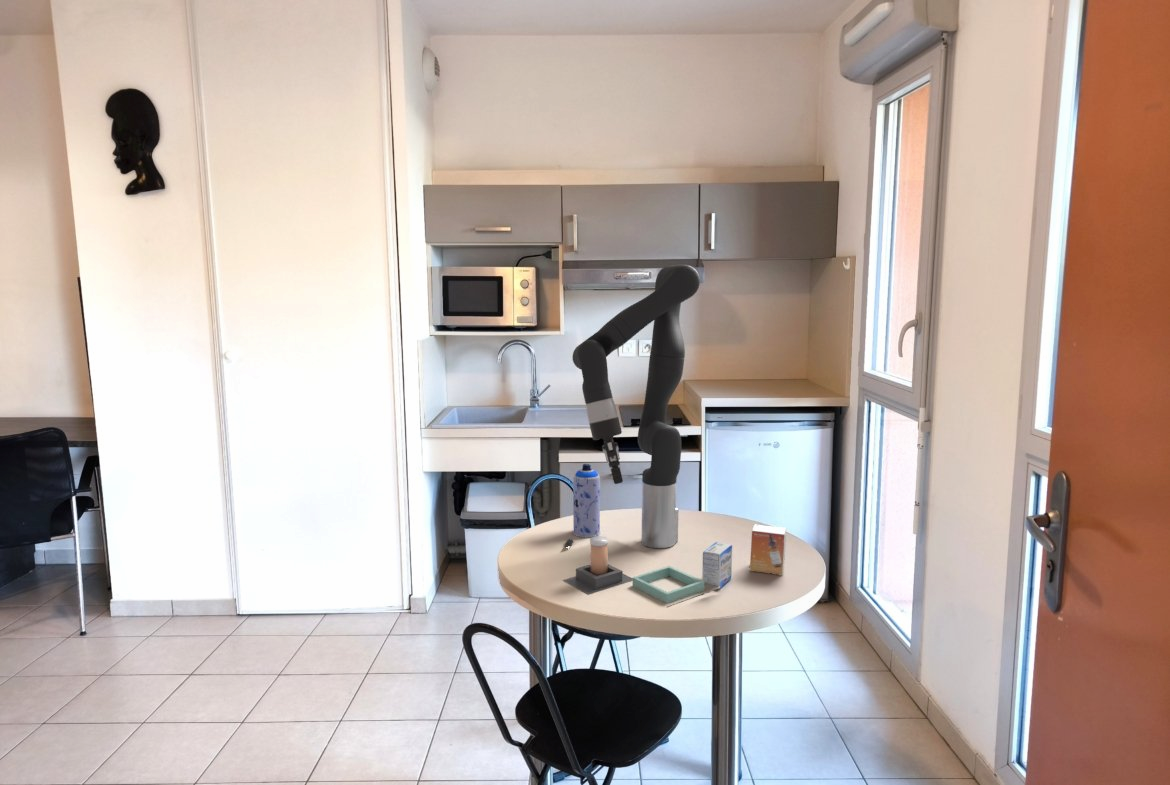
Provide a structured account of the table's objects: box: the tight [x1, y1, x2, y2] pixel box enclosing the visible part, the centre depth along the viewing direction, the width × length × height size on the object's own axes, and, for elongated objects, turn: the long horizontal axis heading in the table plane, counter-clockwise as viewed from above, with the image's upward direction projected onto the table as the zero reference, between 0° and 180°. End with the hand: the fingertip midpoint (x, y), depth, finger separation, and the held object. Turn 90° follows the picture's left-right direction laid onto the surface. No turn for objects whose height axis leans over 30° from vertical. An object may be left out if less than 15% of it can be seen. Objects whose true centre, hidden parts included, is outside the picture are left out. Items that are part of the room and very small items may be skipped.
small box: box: [749, 524, 787, 576], centre depth 179 cm, size 8×6×10 cm
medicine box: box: [701, 541, 733, 591], centre depth 171 cm, size 8×4×9 cm, turn 148°
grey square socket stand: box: [562, 563, 633, 596], centre depth 170 cm, size 14×10×4 cm
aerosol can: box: [572, 463, 601, 539], centre depth 204 cm, size 8×8×20 cm
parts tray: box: [632, 565, 705, 608], centre depth 166 cm, size 12×12×3 cm
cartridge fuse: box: [589, 535, 609, 576], centre depth 170 cm, size 4×4×10 cm
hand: (618, 481), depth 181 cm, fingers open, 8 cm apart
